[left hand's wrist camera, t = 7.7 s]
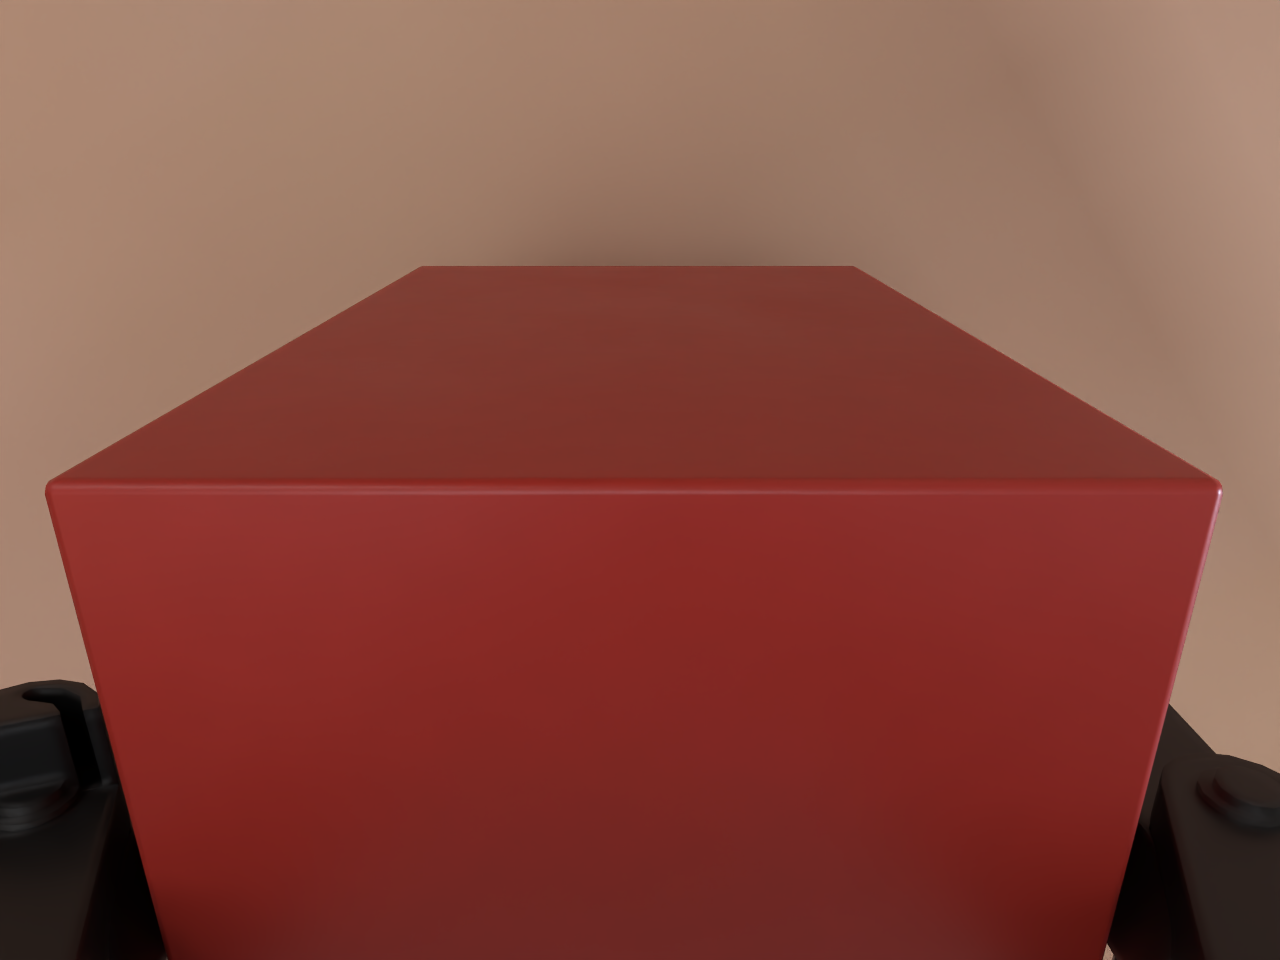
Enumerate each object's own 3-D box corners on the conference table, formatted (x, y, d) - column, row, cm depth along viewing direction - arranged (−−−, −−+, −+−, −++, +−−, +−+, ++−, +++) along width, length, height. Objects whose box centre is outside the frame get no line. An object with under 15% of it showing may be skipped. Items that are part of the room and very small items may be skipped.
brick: (857, 265, 14) (1234, 481, 5) (819, 696, 17) (1017, 1309, 8) (418, 264, 14) (34, 483, 5) (456, 696, 17) (255, 1309, 8)
